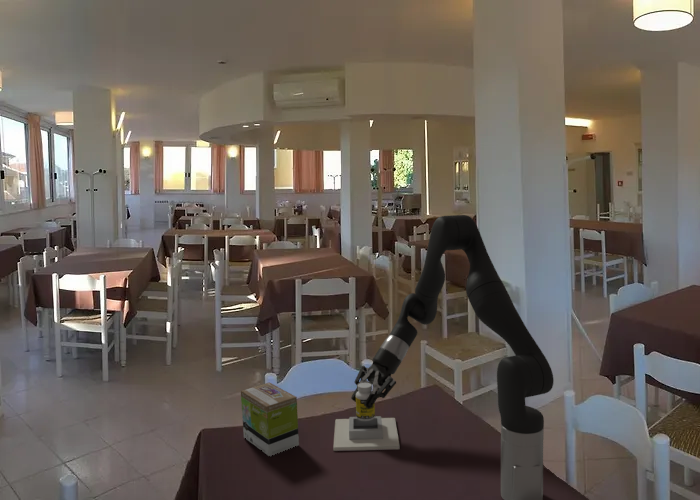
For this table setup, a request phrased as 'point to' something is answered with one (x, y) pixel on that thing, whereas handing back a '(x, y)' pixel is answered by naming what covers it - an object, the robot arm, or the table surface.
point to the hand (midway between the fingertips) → (360, 403)
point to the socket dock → (365, 434)
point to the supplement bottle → (361, 398)
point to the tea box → (270, 418)
